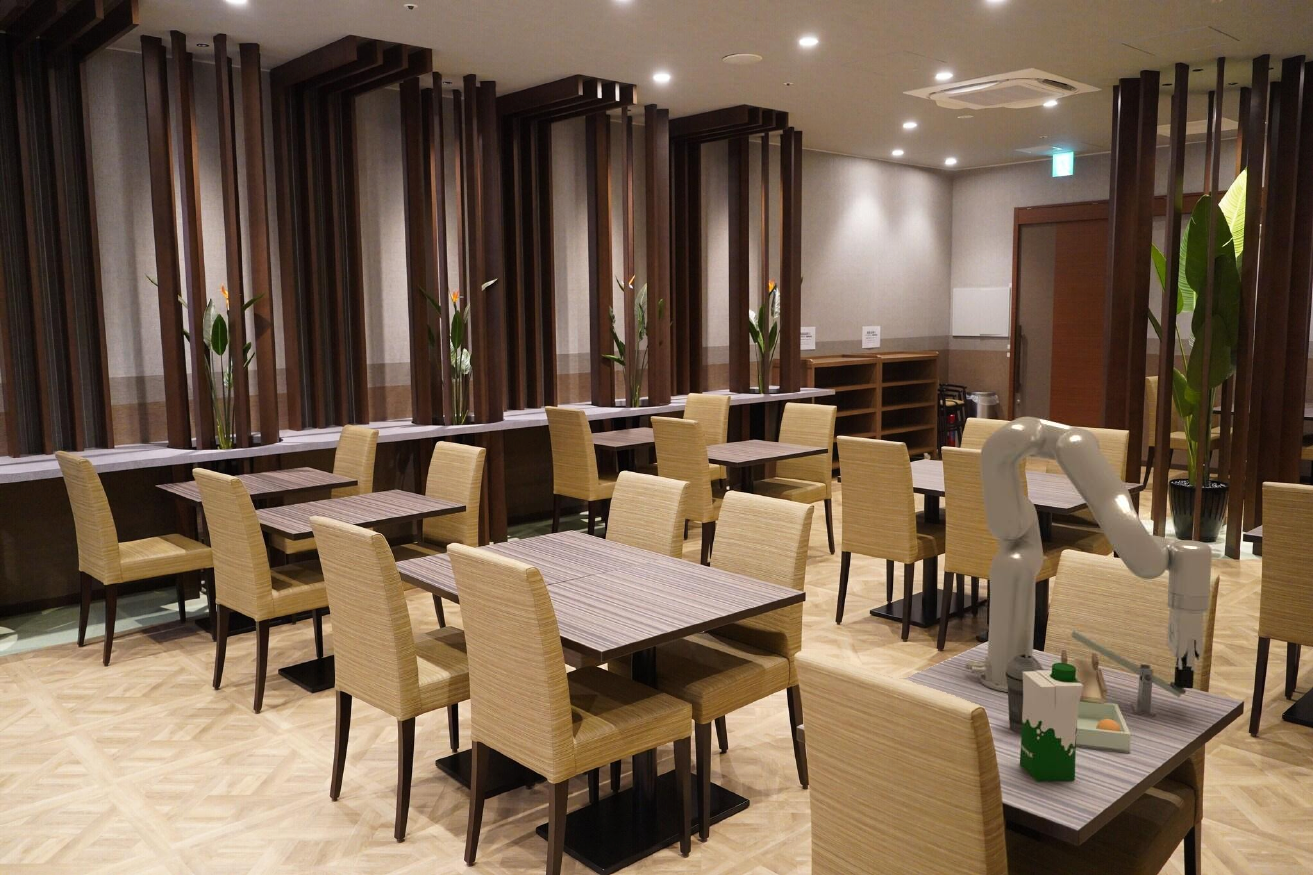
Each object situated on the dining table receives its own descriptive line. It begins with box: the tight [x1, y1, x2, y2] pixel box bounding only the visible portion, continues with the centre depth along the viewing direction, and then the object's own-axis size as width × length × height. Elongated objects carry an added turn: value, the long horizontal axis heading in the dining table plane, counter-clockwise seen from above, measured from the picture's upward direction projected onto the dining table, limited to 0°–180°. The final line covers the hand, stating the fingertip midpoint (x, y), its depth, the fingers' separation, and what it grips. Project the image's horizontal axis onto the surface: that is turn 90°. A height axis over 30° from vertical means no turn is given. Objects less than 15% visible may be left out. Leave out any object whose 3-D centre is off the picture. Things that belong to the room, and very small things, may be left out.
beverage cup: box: [1006, 636, 1044, 736], centre depth 196 cm, size 7×7×20 cm
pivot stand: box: [1130, 663, 1157, 718], centre depth 207 cm, size 4×5×10 cm
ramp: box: [1060, 650, 1108, 703], centre depth 209 cm, size 7×16×10 cm, turn 164°
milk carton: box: [1019, 662, 1083, 783], centre depth 178 cm, size 9×9×20 cm
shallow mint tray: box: [1076, 700, 1132, 754], centre depth 196 cm, size 12×15×4 cm
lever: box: [1070, 630, 1187, 698], centre depth 208 cm, size 25×3×2 cm, turn 74°
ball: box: [1096, 719, 1121, 732], centre depth 191 cm, size 4×4×4 cm
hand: (1183, 686), depth 205 cm, fingers closed
